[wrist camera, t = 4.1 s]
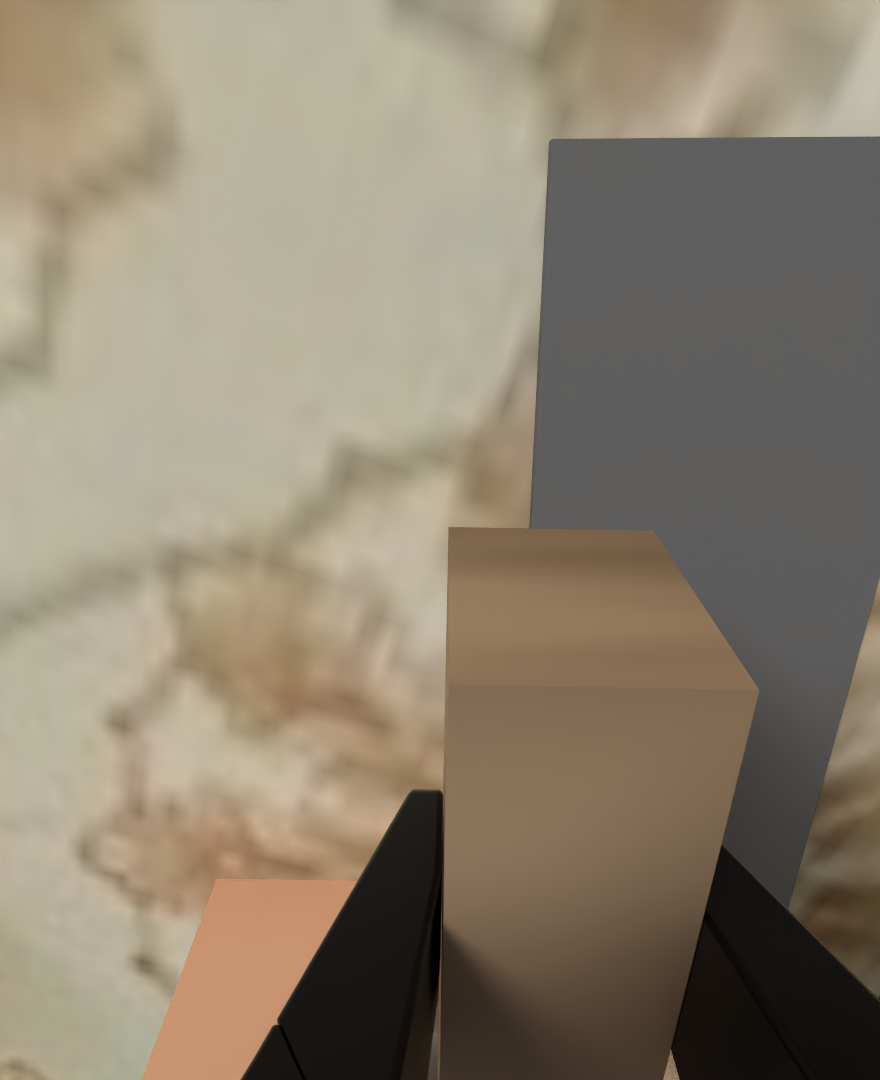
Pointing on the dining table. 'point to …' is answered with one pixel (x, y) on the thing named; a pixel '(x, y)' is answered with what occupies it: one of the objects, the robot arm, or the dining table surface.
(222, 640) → the dining table surface
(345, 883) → the terracotta tile
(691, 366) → the mat
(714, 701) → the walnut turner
